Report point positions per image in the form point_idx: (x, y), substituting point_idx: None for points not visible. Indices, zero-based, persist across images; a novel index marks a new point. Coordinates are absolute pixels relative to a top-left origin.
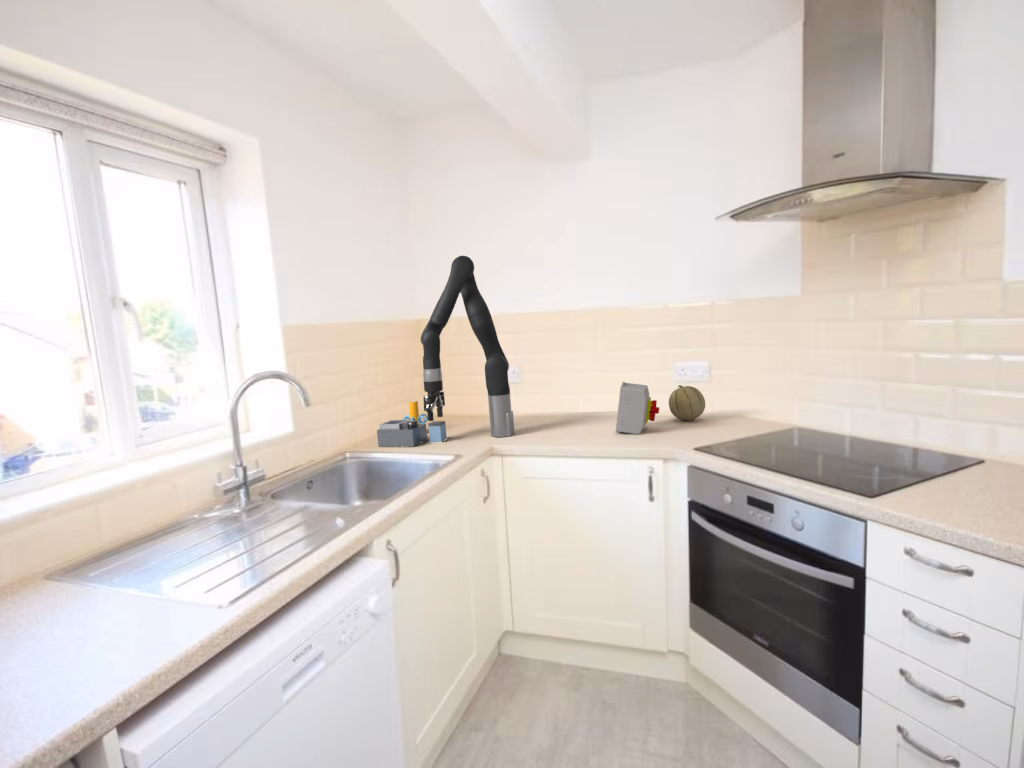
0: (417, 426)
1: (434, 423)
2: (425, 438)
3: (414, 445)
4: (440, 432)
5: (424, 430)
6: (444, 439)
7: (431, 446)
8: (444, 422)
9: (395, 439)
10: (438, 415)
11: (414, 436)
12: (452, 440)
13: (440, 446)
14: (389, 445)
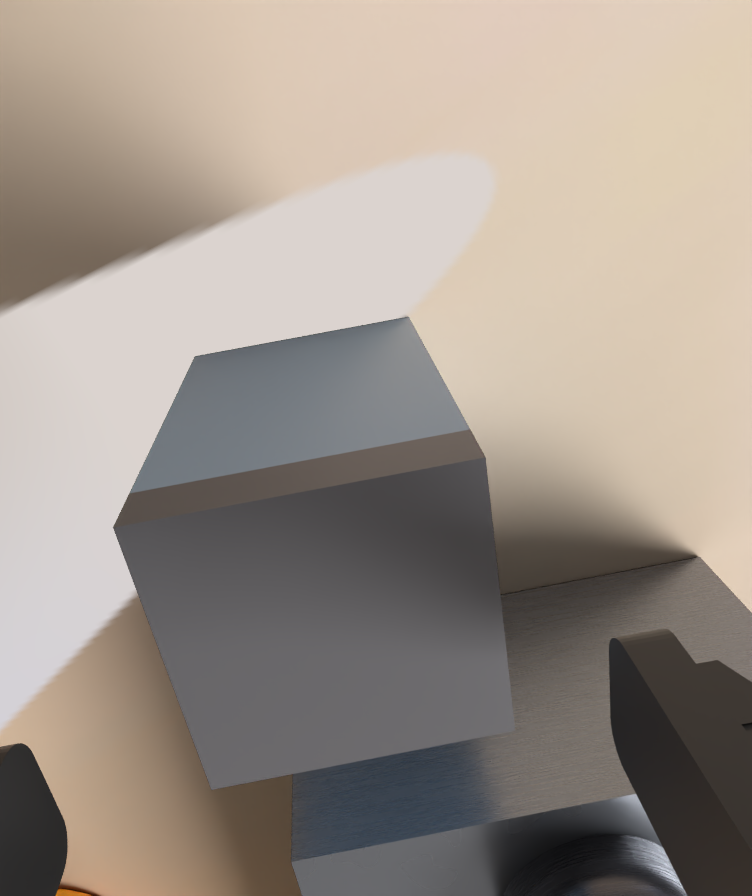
0: (564, 842)
1: (494, 599)
2: None
3: (686, 570)
4: (439, 375)
5: None
6: (286, 347)
7: (652, 333)
8: (176, 499)
9: None
10: (45, 859)
11: (728, 659)
12: (205, 219)
13: (650, 170)
14: None
